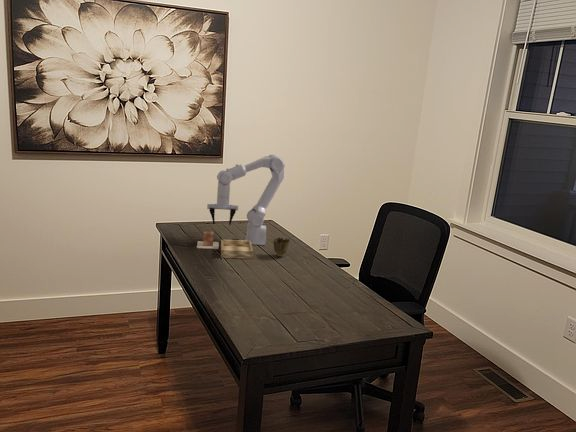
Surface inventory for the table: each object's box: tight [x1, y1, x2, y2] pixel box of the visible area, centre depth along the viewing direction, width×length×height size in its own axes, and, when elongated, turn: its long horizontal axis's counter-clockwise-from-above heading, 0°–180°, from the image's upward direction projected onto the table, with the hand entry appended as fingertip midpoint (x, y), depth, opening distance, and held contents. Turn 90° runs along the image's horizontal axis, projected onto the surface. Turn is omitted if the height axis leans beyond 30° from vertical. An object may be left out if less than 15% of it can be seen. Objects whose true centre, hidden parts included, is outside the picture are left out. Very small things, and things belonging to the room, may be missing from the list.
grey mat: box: [196, 240, 220, 250], centre depth 248 cm, size 10×10×1 cm
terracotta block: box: [202, 230, 214, 246], centre depth 248 cm, size 4×4×6 cm
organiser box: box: [220, 239, 254, 260], centre depth 241 cm, size 14×16×4 cm
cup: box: [273, 237, 290, 258], centre depth 241 cm, size 8×7×8 cm
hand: (221, 224), depth 252 cm, fingers open, 7 cm apart
